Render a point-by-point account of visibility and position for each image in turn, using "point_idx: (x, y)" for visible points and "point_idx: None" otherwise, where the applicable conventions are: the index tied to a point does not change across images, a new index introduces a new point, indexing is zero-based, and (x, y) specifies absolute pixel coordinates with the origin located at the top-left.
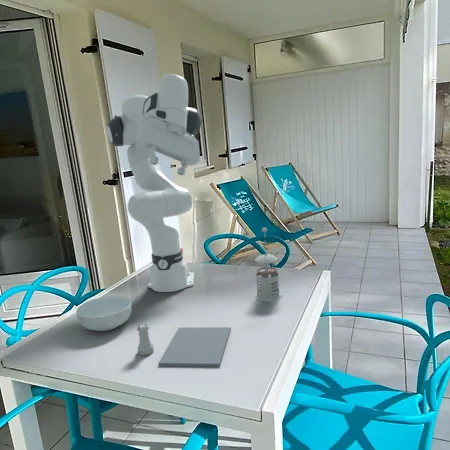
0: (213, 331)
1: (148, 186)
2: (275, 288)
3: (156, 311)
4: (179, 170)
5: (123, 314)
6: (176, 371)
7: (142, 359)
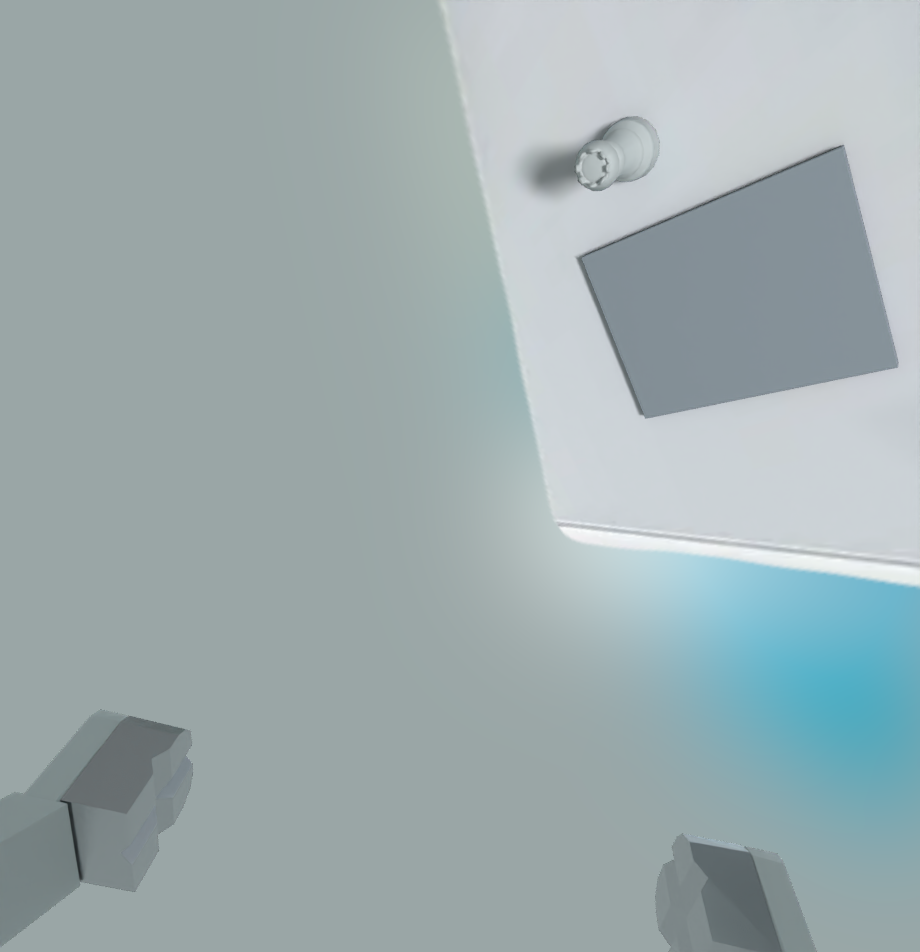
0: (840, 317)
1: None
2: None
3: None
4: (686, 919)
5: None
6: (585, 319)
7: None
